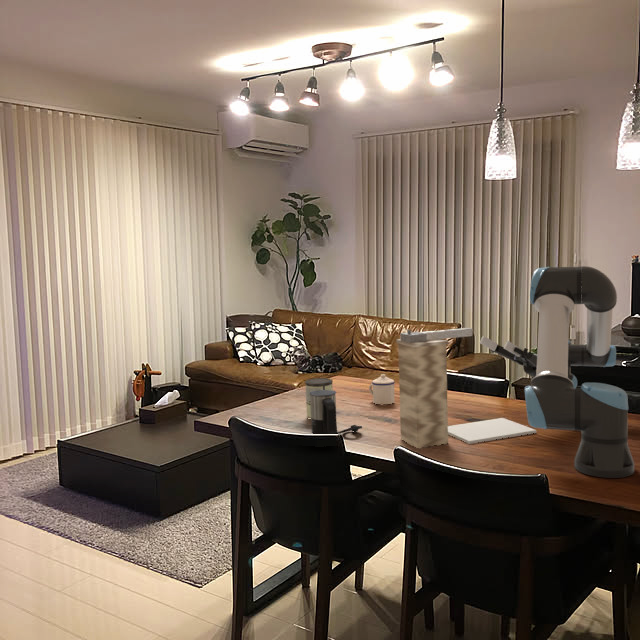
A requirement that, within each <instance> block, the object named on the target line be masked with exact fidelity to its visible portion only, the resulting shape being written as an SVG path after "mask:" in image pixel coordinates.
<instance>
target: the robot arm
mask: <svg viewBox="0 0 640 640" xmlns="http://www.w3.org/2000/svg"><path fill="white" fill-rule="evenodd" d="M617 296H618V295H617V290H616V287H615V285H614V283H613V282H612V281H611V279H610V278H609V277H608V276H607V275H606V274H605V273H604V272H602V271H601V270H599V269H597V268H595V267H592V266H586V265H585V266H583V265H582V266H555V267H554V266H546V267H538V268H537V269H535V270H534V271H533V274H532V277H531V281H530V289H529V302H530V304H531V305H534V309H535V311H536V312H538V313H539V314H538V331H537V332H538V333H537V351H536V352H537V353H533V352H531V351H528V350H529V349H528V348H526V347H524V349H523V348H521V347H520V346H518V345H516V344H514V343H513V342H511V341H510V340H506V342H505V344H504V346H501V345H499V344H498V343H497V342H495V341H493V340H492V339H490V338H488V337H486V336H485V335H482V337H481V338H480V340H479V344H481V345H482V346H484V347H486V348H488V349H490V351H491V353H492V354H497V355H499V356H502V357H504V358H505V359H508V360H510V361H511V362H513V363H515V364H516V363H517V364H518V365H519V366H522V367H523V368H522V369H523V371H524V373H525V374H527V375H529V376H530V377H532V378H531V380H530V385H527V386H525V387H524V397H525V400H524V401H525V408H526V415H527V416H526V418H527V423H528V425H529V426H530V428H531V427H532V428H533V429H534V428H535V429H544V430H557V431H559V430H560V431H561V430H562V431H578V432H581V433H580V434H581V438H580V443H579V446H578V448H577V452H576V453H575V456H574V469H575V470H577V471H578V472H580V473H582V474H585V475H588V476H591V477H597V478H603V479H604V478H606V479H619V478H621V479H622V478H627V477H629V476H632V475H634V473H635V462H634V459H633V456H632V453H631V450H630V447H629V444H628V440H629V439H628V436H629V435H628V424H629V423H628V417H629V416H628V414H629V413H628V411H629V400H628V398H629V397H628V394H627V392H626V391H625V390H624V389H622V388H620V387H618V386H615V385H611V384H607V383H603V382H584V383H582V384H581V385H580V388H577V386H578V379H577V377H576V376H575V374H574V373H571V370H572V369H571V368H572V366H573V367H578V366H579V367H580V366H581V367H599V368H602V367H603V368H606V367H614V366H615V365H616V362H617V347H616V345H612V344H611V339H612V322H613V309H614V308H615V307H616V306H617V300H618V297H617ZM575 305H584V306H585V308H586V344H573V343H572V341H571V340H570V339H569V337H570V336H569V331H570V329H569V328H570V327H569V325H570V313H572V312H573V311H574V309H575Z"/></svg>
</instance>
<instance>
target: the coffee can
mask: <svg viewBox="0 0 640 640" xmlns="http://www.w3.org/2000/svg"><path fill="white" fill-rule="evenodd" d="M304 383H305V384H304V385H305V401H306V402H305V404H306V418H307V417H308V418H311V402H310V394H309V393H310V392H312V391H318V390H333V379H332V378H326V377H314V378H310V379H307V380H304ZM333 391H334V390H333Z"/></svg>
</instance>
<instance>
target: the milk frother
mask: <svg viewBox="0 0 640 640" xmlns="http://www.w3.org/2000/svg"><path fill="white" fill-rule="evenodd" d="M309 394H310V402H311V420H310V421H311V433H313V434H338V435H339V434H342V433H343V434H345V433H347V432H352V431H354V432H355V433H357V432H358V431H359V430H360V429H363V426H362V425H356V424H353V425H350V427H348V428H345V429H343V430H341V431H338V425H337V400H336V399H337V398H336V397H337V396H336V394H337V391H336V390H318V391H312V392H310V393H309ZM356 431H357V432H356Z"/></svg>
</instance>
